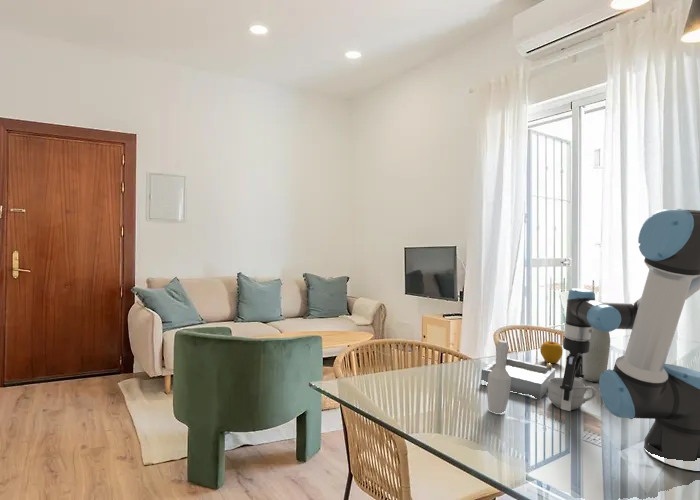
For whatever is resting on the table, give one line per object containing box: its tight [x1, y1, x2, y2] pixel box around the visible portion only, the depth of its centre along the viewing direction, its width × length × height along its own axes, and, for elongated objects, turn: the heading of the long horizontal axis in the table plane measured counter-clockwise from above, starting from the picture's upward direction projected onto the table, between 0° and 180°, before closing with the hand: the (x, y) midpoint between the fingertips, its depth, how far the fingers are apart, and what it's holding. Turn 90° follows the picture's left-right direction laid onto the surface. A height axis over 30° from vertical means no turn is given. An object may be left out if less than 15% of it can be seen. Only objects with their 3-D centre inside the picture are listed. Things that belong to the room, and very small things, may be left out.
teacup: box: [547, 377, 597, 411], centre depth 156 cm, size 14×11×8 cm
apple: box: [540, 340, 564, 364], centre depth 201 cm, size 9×8×9 cm
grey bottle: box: [582, 326, 611, 383], centre depth 181 cm, size 10×10×28 cm
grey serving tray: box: [480, 357, 556, 401], centre depth 174 cm, size 20×20×7 cm
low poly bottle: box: [486, 339, 511, 413], centre depth 148 cm, size 6×6×22 cm
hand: (570, 403), depth 156 cm, fingers open, 13 cm apart
